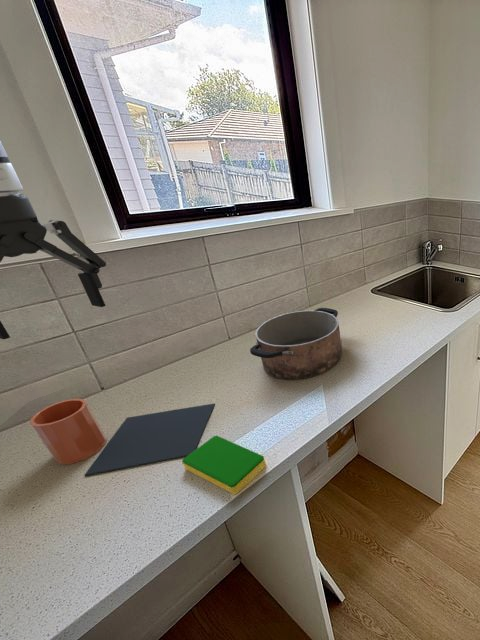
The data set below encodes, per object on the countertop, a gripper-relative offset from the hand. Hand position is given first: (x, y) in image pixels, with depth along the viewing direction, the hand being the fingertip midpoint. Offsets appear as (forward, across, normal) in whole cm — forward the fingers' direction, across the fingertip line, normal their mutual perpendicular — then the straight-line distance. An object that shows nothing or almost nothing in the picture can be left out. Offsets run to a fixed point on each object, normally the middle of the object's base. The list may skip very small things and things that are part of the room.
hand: (55, 320), depth 60 cm
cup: (+28, -5, +2) cm, 28 cm away
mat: (+28, +3, -9) cm, 29 cm away
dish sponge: (+28, +1, -29) cm, 40 cm away
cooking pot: (+28, +39, -19) cm, 51 cm away
